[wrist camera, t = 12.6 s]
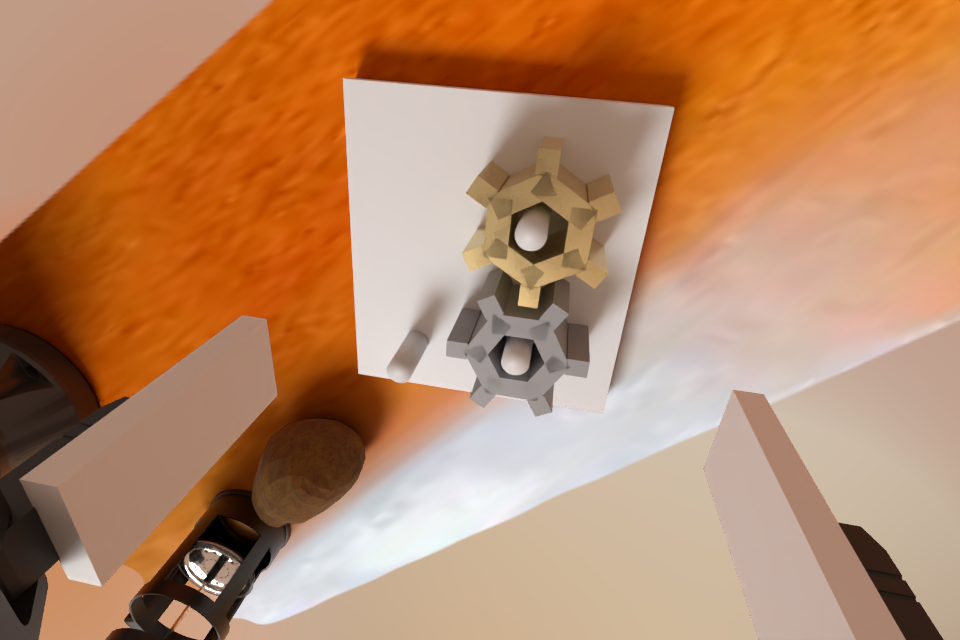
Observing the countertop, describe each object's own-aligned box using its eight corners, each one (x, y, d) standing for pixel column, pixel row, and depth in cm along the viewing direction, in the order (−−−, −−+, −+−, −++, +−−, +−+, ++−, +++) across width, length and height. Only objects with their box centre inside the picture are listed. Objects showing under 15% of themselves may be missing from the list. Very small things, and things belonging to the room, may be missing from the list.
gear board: (367, 361, 43) (328, 414, 36) (355, 78, 32) (299, 80, 26) (601, 398, 40) (606, 463, 34) (669, 105, 30) (695, 115, 23)
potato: (252, 430, 49) (192, 497, 41) (337, 384, 44) (287, 449, 37) (308, 488, 51) (261, 562, 44) (394, 450, 47) (358, 524, 39)
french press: (267, 482, 52) (70, 744, 32) (310, 544, 55) (157, 816, 35) (185, 497, 56) (-39, 741, 35) (230, 554, 59) (49, 806, 39)
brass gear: (505, 291, 35) (495, 322, 31) (452, 178, 32) (433, 195, 28) (633, 244, 32) (643, 272, 28) (588, 115, 29) (590, 123, 25)
